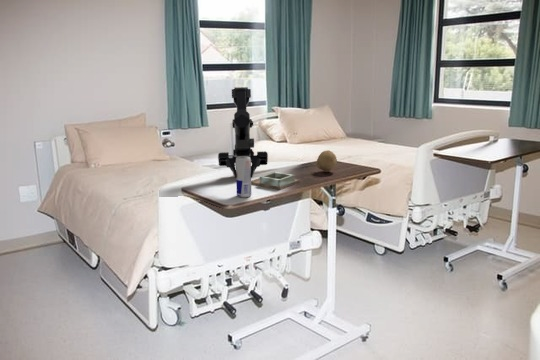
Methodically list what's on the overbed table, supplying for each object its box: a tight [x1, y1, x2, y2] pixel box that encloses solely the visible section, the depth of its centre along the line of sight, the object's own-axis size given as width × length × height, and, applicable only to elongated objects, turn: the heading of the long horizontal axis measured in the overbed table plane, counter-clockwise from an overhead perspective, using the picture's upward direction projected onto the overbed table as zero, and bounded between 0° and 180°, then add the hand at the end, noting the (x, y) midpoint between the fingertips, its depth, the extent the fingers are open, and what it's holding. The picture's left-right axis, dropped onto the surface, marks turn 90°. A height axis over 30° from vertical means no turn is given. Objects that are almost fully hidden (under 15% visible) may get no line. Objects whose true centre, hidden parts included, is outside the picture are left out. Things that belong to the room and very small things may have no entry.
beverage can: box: [235, 156, 252, 199], centre depth 182 cm, size 6×6×15 cm
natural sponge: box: [315, 149, 338, 173], centre depth 219 cm, size 9×9×10 cm
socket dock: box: [251, 171, 300, 190], centre depth 202 cm, size 16×14×4 cm
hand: (243, 177), depth 181 cm, fingers closed on beverage can, 5 cm apart
